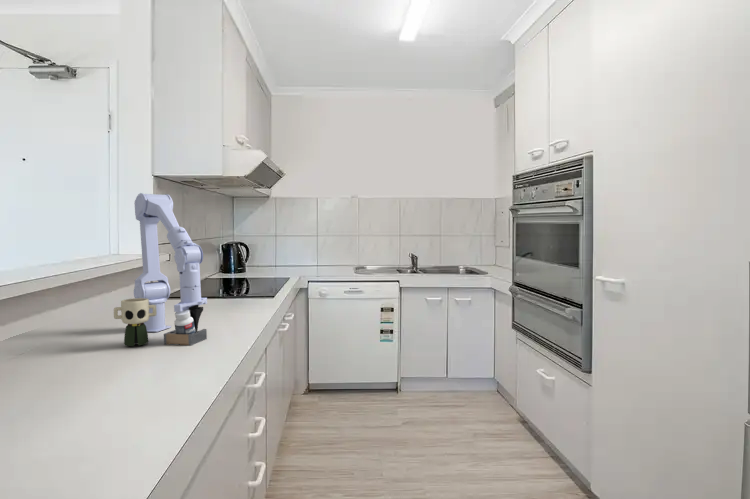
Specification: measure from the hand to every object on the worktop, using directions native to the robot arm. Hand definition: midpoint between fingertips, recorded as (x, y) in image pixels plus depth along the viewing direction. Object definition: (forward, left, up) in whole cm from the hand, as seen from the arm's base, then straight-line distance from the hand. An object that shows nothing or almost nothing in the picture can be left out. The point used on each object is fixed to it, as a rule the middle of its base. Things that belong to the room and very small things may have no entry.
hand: (192, 331), depth 148 cm
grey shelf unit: (-1, -3, -2) cm, 4 cm away
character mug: (-12, -9, -3) cm, 15 cm away
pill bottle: (0, -2, -2) cm, 3 cm away
